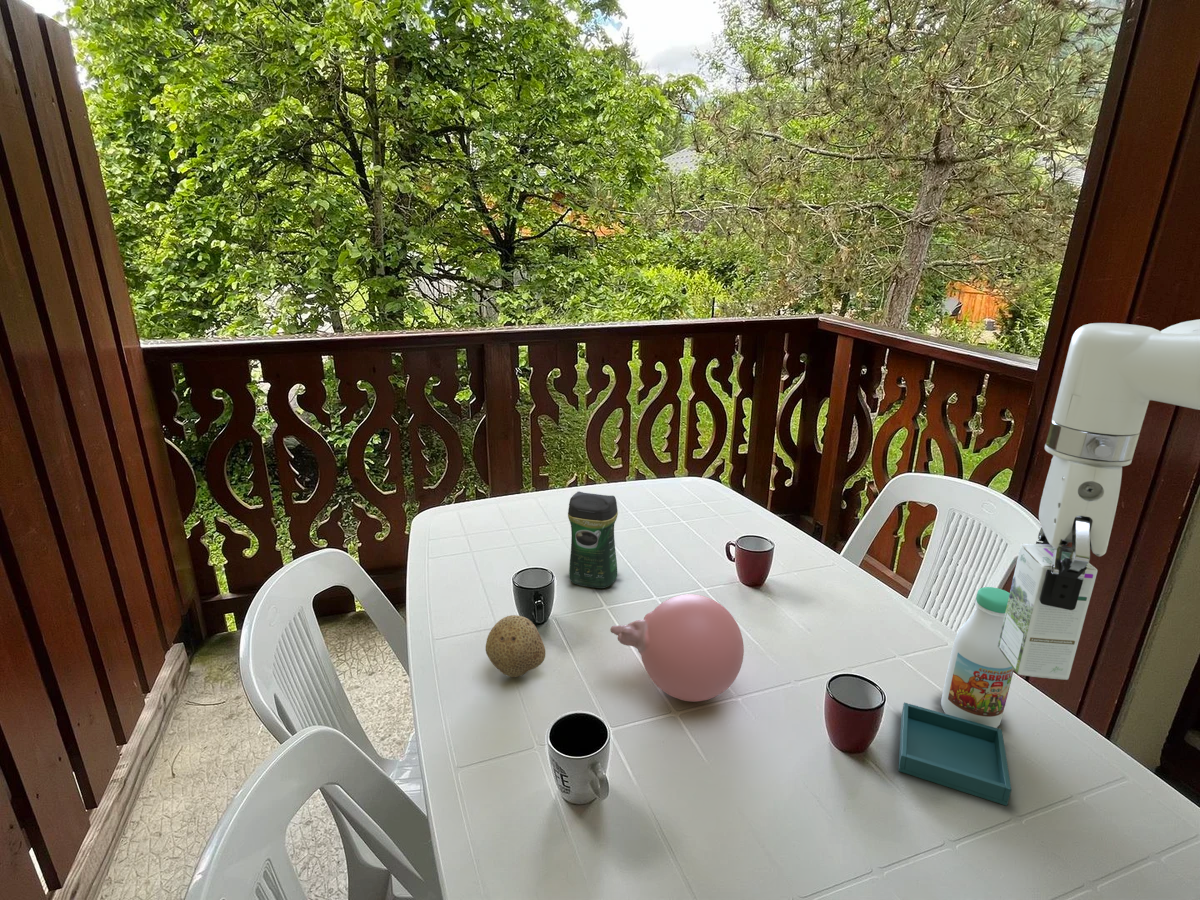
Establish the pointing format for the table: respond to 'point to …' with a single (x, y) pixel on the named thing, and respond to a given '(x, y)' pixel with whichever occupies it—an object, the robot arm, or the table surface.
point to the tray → (954, 753)
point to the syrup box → (1041, 618)
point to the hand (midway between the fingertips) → (1050, 588)
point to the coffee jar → (592, 539)
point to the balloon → (687, 646)
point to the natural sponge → (515, 646)
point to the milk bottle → (979, 664)
